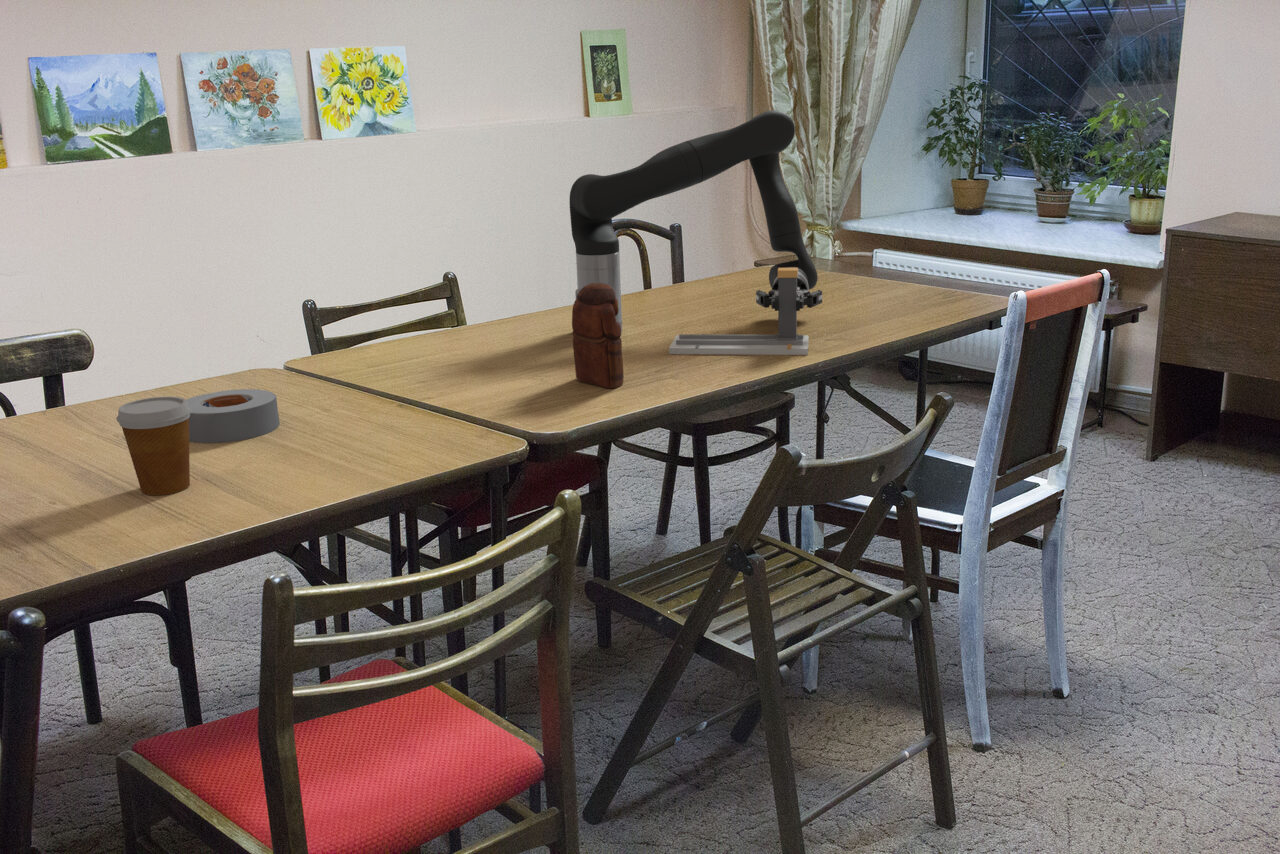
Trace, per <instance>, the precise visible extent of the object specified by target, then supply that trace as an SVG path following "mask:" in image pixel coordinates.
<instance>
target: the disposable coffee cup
mask: <svg viewBox="0 0 1280 854" xmlns="http://www.w3.org/2000/svg"><path fill="white" fill-rule="evenodd" d="M190 413H191V408H190V407H189V406H188V404H187V401H186V399H185V398H184V397H180V396H155V397H147V398H143V399H142V398H141V399H136V400H134V401H133V400H132V401H130V402H126V403H125V404H122V405H121V406H119V408H118V415H117V416H116V421H117V423H118V424H119V426H120V427H121V428H122V429H121V430H122V432H123V436H124V439H125V442H126V445H127V448H128V451H129V455H130V458H131V462H132V465H133V468H134V471H135V475H136V477H137V481H138V484H139V487H140V491H141V493H142V494H144V495H148V496H167V495H170V494H171V495H172V494H176V493H179V492H181V491H184V490H185V489H186V490H187V488H189V487H190V485H191V483H190V481H191V480H190V479H191V478H190V477H191V476H190V475H191V473H190V467H191V465H190V441H189V417H190Z"/></svg>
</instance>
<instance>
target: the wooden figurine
mask: <svg viewBox="0 0 1280 854" xmlns="http://www.w3.org/2000/svg"><path fill="white" fill-rule="evenodd" d="M618 311H619V309H618V300H617V298H616V295H615V291H614V289H613V288H612V287H611V286H609V285H607V284H604V283H591V284H588V285H586V286H584V287H583V288H582V289H581V290H580V291H579V293H578V295H577V299H576V298H575V300H574V302H573V305H572V313H571V314H572V315H571V329H572V349H573V350H572V351H573V359H574V360H573V361H574V367H575V368H574V369H575V379H576V380H578V381H579V382H582V383H585V384H590V385H594V386H598V387H602V388H605V389H616V388H618V387H620V386H622V385H623V384H624V378H625V377H624V362H623V347H622V346H623V345H622V344H623V343H622V338H621V337H622V332H621V325H620V323H619V322H617V321H616V317H615V316H617V314H618Z"/></svg>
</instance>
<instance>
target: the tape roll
mask: <svg viewBox="0 0 1280 854" xmlns="http://www.w3.org/2000/svg"><path fill="white" fill-rule="evenodd" d="M185 400H186V401H187V404H188V406H189V407H190V408H191V413H190V417H189V443H190V442H191V443H199V444H222V443H223V444H224V443H225V444H226V443H232V442H239V441H244V440H249V439H253V438H254V439H255V438H257V437H261V436H264V435H266V434H269V433H272V432H273V431H275V430H277V429H278V428H279V427H280V423H281V422H280V416H279V415H280V414H279V409H278V407H279V406H278V399H277V395H276V394H275V393H273V392H272V391H269V390H266V389H265V390H264V389H259V388H252V389H251V388H237V389H227V390H221V391H214V392H209V393H203V394H199V395H196V396H192V397H189V398H186V399H185Z"/></svg>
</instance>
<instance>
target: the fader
mask: <svg viewBox="0 0 1280 854" xmlns="http://www.w3.org/2000/svg"><path fill="white" fill-rule="evenodd" d="M797 277H798V268H778V278H779V284H778V299H779V310H778V311H777V312H778V317H777V318H778V321H777V325H778V327H777V328H778V329H777V330H778V333H777V335H778V336H777V340H798V335H799V334H798V333H797V332H798V330H797V329H798V328H797V327H798V324H797V323H798V311H796V299H797Z"/></svg>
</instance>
